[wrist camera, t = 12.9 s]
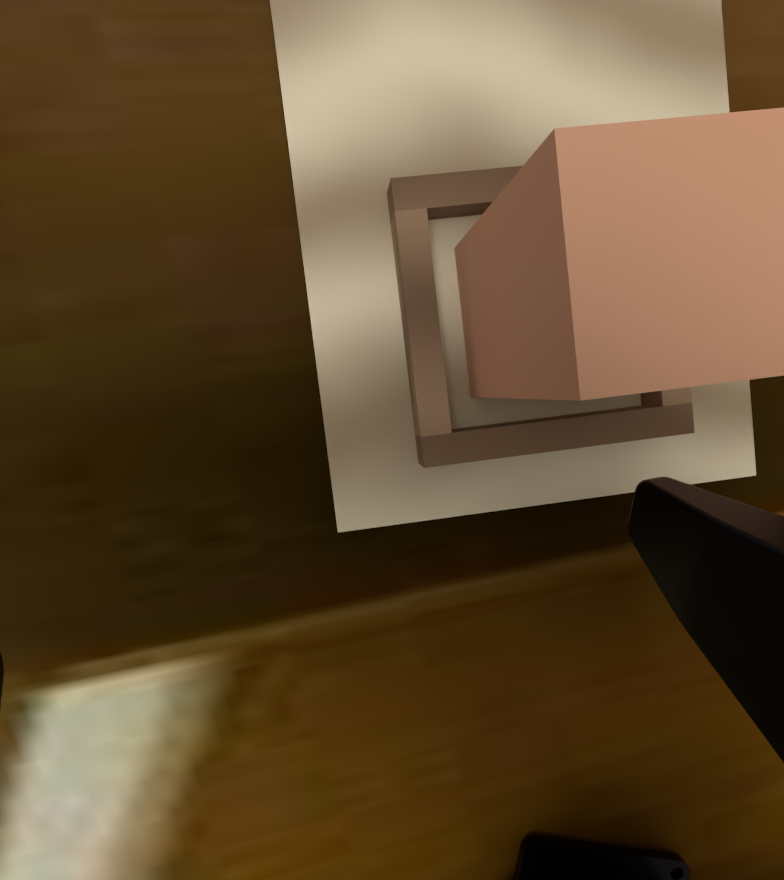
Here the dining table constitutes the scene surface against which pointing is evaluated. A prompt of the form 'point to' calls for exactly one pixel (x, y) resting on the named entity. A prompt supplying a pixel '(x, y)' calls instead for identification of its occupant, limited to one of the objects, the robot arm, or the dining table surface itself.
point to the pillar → (630, 261)
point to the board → (449, 219)
